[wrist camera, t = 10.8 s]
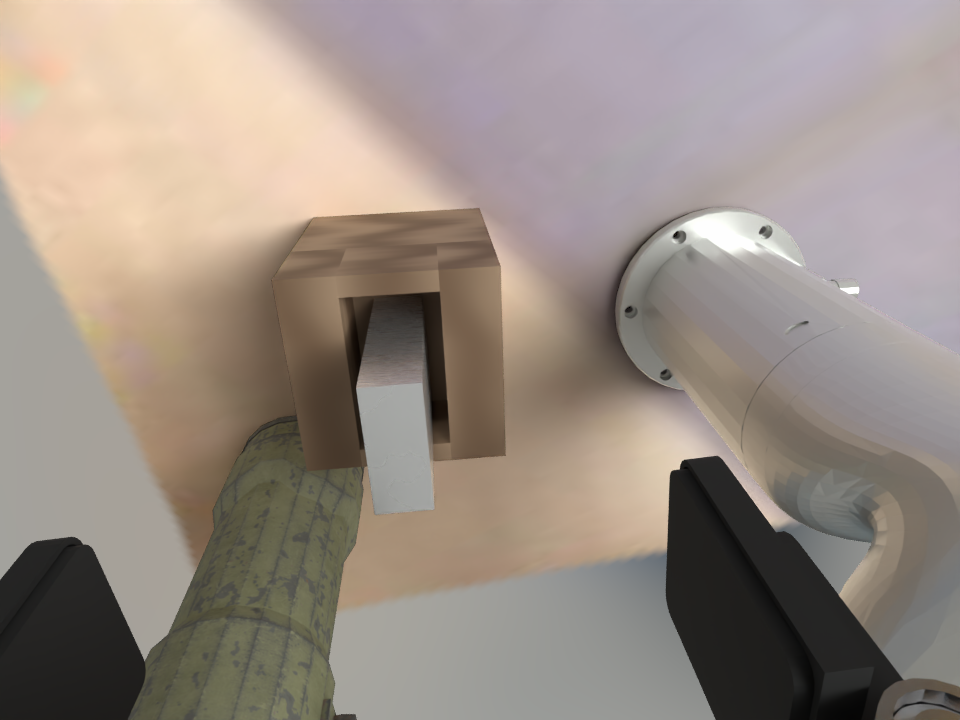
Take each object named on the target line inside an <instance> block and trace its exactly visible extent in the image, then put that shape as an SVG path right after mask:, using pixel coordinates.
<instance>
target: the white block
mask: <svg viewBox="0 0 960 720" xmlns="http://www.w3.org/2000/svg"><path fill="white" fill-rule="evenodd" d="M356 391H357V398H358V405H359V411H360V418H361V425H362V432H363V439H364V445H365V452H366V459H367V466H368V472H369V479H370V486H371V493H372V500H373V506H374V513H375V515H378V514H389V513H401V512H412V511H423V510H434V471H433V430H432V394H431V383H430V372H429V361H428V350H427V339H426V328H425V317H424V306H423V295H415V296H401V297H387V298H374V302H373V307H372V312H371V317H370V322H369V327H368V332H367V337H366V342H365V347H364V352H363V357H362V362H361V366H360V371H359V376H358V381H357V386H356Z"/></svg>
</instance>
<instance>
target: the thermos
mask: <svg viewBox="0 0 960 720" xmlns="http://www.w3.org/2000/svg"><path fill="white" fill-rule="evenodd" d="M363 473H364V467H353V468H340V469H327V470H315V471H307V468H306V463H305V458H304V452H303V447H302V442H301V436H300V431H299V426H298V420H297V416H290V417H283V418H278V419H276V420H274V421H272V422H269V423H267V424H265V425H263V426H261V427H260V428H259V429H258V430H257V431H256V432H255V433H254V434H253V435H252V436H251V437H250V438H249V440H248V442H247V444H246V446H245V448H244V450H243V452H242V454H241V455H240V456H239V457H238V458H237V460H236V462H235V464H234V466H233V468H232V470H231V472H230V474H229V476H228V478H227V481H226V483H225V485H224V487H223V489H222V491H221V494H220V496H219V498H218V500H217V502H216V504H215V506H214V509H213V520H214V531H213V534H212V536H211V538H210V540H209V543H208V545H207V547H206V550H205V552H204V554H203V556H202V559H201V561H200V563H199V565H198V568H197V570H196V572H195V574H194V577H193V579H192V581H191V584H190V586H189V588H188V590H187V593H186V595H185V597H184V599H183V602H182V604H181V606H180V608H179V611H178V613H177V615H176V618H175V620H174V622H173V624H172V627H171V629H170V631H169V634H168V635H167V636H166V637H165V638H163V639H162V640H161V641H160V642H159V643H158V644H156V645H155V646H154V647H153V648H152V649H151V650H150V652H149V654H148V656H147V658H146V660H145V667H146V675H145V681H144V684H143V687H142V689H141V691H140V693H139V696H138V698H137V700H136V702H135V705H134V707H133V709H132V711H131V713H130V716H129V718H128V720H357V719H356V715H355V714H341V715H336V713H335V710H334V707H333V704H332V701H333V695H334V687H335V681H334V678H333V674H332V671H331V668H330V664H329V661H328V660H329V654H330V648H331V642H332V634H333V629H334V623H335V616H336V610H337V603H338V597H339V591H340V584H341V578H342V572H343V565H344V561H345V560H346V559H347V557H348V555H349V554H350V552H351V550H352V549H353V547H354V546H355V543H356V537H357V531H358V524H359V518H360V511H361V503H362V496H363V485H362V479H363Z"/></svg>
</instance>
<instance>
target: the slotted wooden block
mask: <svg viewBox="0 0 960 720" xmlns="http://www.w3.org/2000/svg"><path fill="white" fill-rule="evenodd" d="M271 281H272V286H273V292H274V297H275V302H276V308H277V313H278V319H279V324H280V329H281V335H282V340H283V345H284V351H285V356H286V361H287V367H288V372H289V377H290V383H291V388H292V393H293V399H294V404H295V410H296V415H297V420H298V426H299V431H300V436H301V442H302V447H303V452H304V458H305V463H306V468H307V471H315V470H327V469H340V468H353V467H366V466H367V459H366V452H365V445H364V439H363V432H362V425H361V418H360V411H359V405H358V398H357V391H356V386H357V381H358V376H359V371H360V366H361V362H362V357H363V352H364V347H365V342H366V337H367V332H368V327H369V322H370V317H371V312H372V307H373V302H374V298H387V297H401V296H415V295H423V306H424V317H425V328H426V339H427V350H428V361H429V372H430V383H431V394H432V430H433V461H443V460H456V459H468V458H481V457H494V456H506V454H505V416H504V379H503V341H502V303H501V266H500V263H499V261H498V258H497V255H496V252H495V250H494V247H493V244H492V242H491V239H490V236H489V233H488V231H487V228H486V225H485V222H484V220H483V217H482V214H481V212H480V209H479V208H474V209H457V210H439V211H422V212H404V213H386V214H369V215H351V216H333V217H316V218H313V220H312V221H311V222H310V224H309V225H308V227H307V228H306V230H305V231H304V233H303V234H302V236H301V237H300V239H299V240H298V242H297V243H296V245H295V246H294V248H293V249H292V251H291V252H290V253H289V255H288V256H287V258H286V259H285V261H284V262H283V264H282V265H281V267H280V268H279V270H278V271H277V273H276V274H275V276H274V277H273V279H272V280H271Z"/></svg>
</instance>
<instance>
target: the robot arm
mask: <svg viewBox="0 0 960 720" xmlns="http://www.w3.org/2000/svg"><path fill="white" fill-rule="evenodd" d="M761 228H762V230H761V231H760V229H761ZM676 231H678V235H677V236H676V237H674V238H672V237H673V234H674V233H675V232H676ZM759 231H760V232H759ZM858 294H859V285H858V282H857V281H856V280H855V279H836V280H831V281H826V279H825V278H823V277H821V276H820V275H818V274H816V273H814V272H812V271H811V270H809V269H807V268H806V265H805V261H804V258H803V256H802V253H801V251H800V249H799V246H798V245H797V244H796V242H795V241H794V240H793V238H792V237H791V235H790V234H789V233H788V232H787V231H786V230H784V229H783V228H782V227H781V226H780V225H779V224H777V223H776V222H774V221H772V220H771V219H769V218H767V217H765V216H763V215H760V214H758V213H755V212H752V211H750V210H747V209H741V208H734V207H718V208H708V209H704V210H700V211H696V212H692V213H690V214H687V215H685V216H683V217H681V218H678V219H676V220H674V221H672V222H671V223H669V224H668V225H666V226H665V227H663V228H662V229H660V230H659V231H657V232H656V233H655V234H654V235H653V236H652V237H651V238H650V239H649V240H648V241H647V242H646V243H645V244H643V245H642V247H641V248H640V249H639V251H638V252H637V253H636V255H635V256H634V257H633V259H632V260H631V261H630V263H629V265H628V267H627V269H626V271H625V273H624V275H623V277H622V280H621V283H620V286H619V289H618V293H617V298H616V307H615V318H616V328H617V332H618V335H619V338H620V341H621V344H622V346H623V347H624V349H625V351H626V352H627V354H628V356H629V357H630V359H631V360H632V361H633V363H634V364H635V365H636V366H637V368H638V369H639V370H641V371H642V372H643V373H644V374H645V375H647V376H648V377H649V378H650V379H652V380H654V381H656V382H657V383H659V384H661V385H664V386H668V387H671V388H674V389H678V390H685V392H686V393H687V394H688V395H689V397H690V398H691V399H692V400H693V402H694V403H695V404H696V406H697V407H698V408H699V409H700V411H701V412H702V413H703V415H704V416H705V417H706V418H707V420H708V421H709V422H710V424H711V425H712V426H713V427H714V429H715V430H716V431H717V433H718V434H719V435H720V436H721V438H722V439H723V440H724V441H725V443H726V444H727V445H728V447H729V448H730V449H731V450H732V452H733V453H734V454H735V456H736V457H737V458H738V459H739V461H740V462H741V463H742V465H743V466H744V467H745V468H746V470H747V471H748V472H749V473H750V475H751V476H752V477H753V479H754V480H755V481H756V482H757V483H758V484H759V486H760V487H761V488H762V489H763V491H764V492H765V493H766V494H767V496H768V497H769V498H770V499H771V500H772V501H773V502H774V503H775V504H776V505H777V506H778V507H779V508H780V509H781V510H783V511H784V512H785V513H786V514H788V515H789V516H790V517H792V518H793V519H795V520H796V521H798V522H800V523H802V524H804V525H806V526H807V527H809V528H812V529H814V530H816V531H819V532H822V533H825V534H828V535H832V536H836V537H840V538H843V539H848V540H854V541H861V542H868V543H871V546H870V548H869V550H868V552H867V554H866V556H865V557H864V559H863V560H862V561H861V563H860V564H859V566H858V567H857V568H856V570H855V571H854V572H853V574H852V575H851V577H850V578H849V579H848V580H847V582H846V583H845V585H844V587H843V590H842V591H841V593H840V594H839V595H838V594H837V592H836V591H835V590H834V588H833V587H832V586H831V584H830V583H829V582H828V580H827V579H826V578H825V577H824V575H823V574H822V573H821V571H820V570H819V569H818V567H817V566H816V565H815V564H814V562H813V561H812V560H811V559H810V557H809V556H808V554H807V553H806V552H805V550H804V549H803V548H802V546H801V545H800V544H799V543H798V541H797V540H796V539H795V538H794V537H793V536H792V535H791V534H789V533H787V532H785V531H783V532H775V530H774V529H773V528H772V526H771V525H770V524H769V522H768V521H767V519H766V518H765V517H764V515H763V514H762V513H761V511H760V510H759V509H758V507H757V506H756V505H755V503H754V502H753V500H752V499H751V498H750V496H749V495H748V494H747V492H746V491H745V490H744V488H743V487H742V485H741V484H740V483H739V481H738V480H737V479H736V477H735V476H734V475H733V473H732V472H731V470H730V469H729V468H728V466H727V465H726V464H725V462H724V461H723V460H722V459H721V458H720V457H718V456H712V457H704V458H696V459H688V460H683V461H682V463H681V465H680V470H673V471H671V474H670V488H669V515H668V543H667V571H666V600H667V605H668V609H669V613H670V615H671V618H672V620H673V623H674V625H675V627H676V629H677V632H678V634H679V636H680V638H681V641H682V643H683V646H684V648H685V650H686V652H687V655H688V657H689V659H690V662H691V663H692V666H693V668H694V670H695V673H696V675H697V678H698V679H699V682H700V685H701V687H702V689H703V691H704V694H705V696H706V698H707V701H708V703H709V705H710V707H711V710H712V712H713V714H714V717H715V719H716V720H960V355H959V354H957V353H955V352H954V351H952V350H950V349H948V348H946V347H944V346H943V345H941V344H939V343H937V342H935V341H934V340H932V339H930V338H928V337H926V336H925V335H923V334H921V333H919V332H917V331H915V330H913V329H911V328H909V327H908V326H906V325H904V324H902V323H901V322H899V321H897V320H895V319H893V318H892V317H890V316H888V315H886V314H884V313H883V312H881V311H879V310H877V309H875V308H874V307H872V306H870V305H868V304H867V303H865V302H863V301H861V300H859V299H858V298H857V296H858ZM629 306H631V307H630V309H629V310H627V311H625V309H626V308H627V307H629ZM663 370H664V371H663ZM145 675H146V667H145V662H144V659H143V657H142V654H141V652H140V650H139V648H138V646H137V644H136V642H135V639H134V637H133V635H132V633H131V631H130V628H129V626H128V624H127V622H126V620H125V618H124V615H123V613H122V611H121V609H120V607H119V604H118V602H117V600H116V598H115V596H114V594H113V592H112V589H111V587H110V585H109V583H108V581H107V579H106V576H105V575H104V572H103V570H102V568H101V565H100V564H99V561H98V559H97V557H96V555H95V552H94V551H93V549H92V548H91V547H90V546H89V545H83V544H82V542H81V541H80V540H79V539H77V538H75V537H68V538H59V539H52V540H44V541H36V542H34V543H31V544H30V545H29V546H28V547H27V548H26V549H25V550H24V551H23V553H22V554H21V555H20V557H19V558H18V559H17V560H16V561H15V562H14V564H13V565H12V566H11V567H10V569H9V570H8V571H7V572H6V574H5V575H4V576H3V577H2V579H1V580H0V720H128V718H129V716H130V713H131V711H132V709H133V707H134V705H135V702H136V700H137V698H138V696H139V693H140V691H141V689H142V687H143V684H144V681H145Z"/></svg>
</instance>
